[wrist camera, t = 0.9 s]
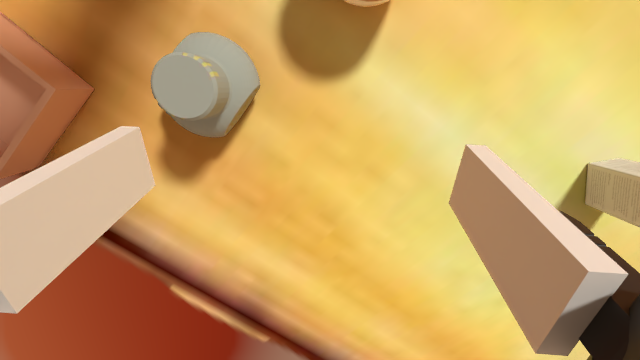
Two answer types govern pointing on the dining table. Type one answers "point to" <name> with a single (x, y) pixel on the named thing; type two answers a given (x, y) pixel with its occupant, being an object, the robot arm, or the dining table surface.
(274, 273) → the dining table surface
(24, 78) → the pink open box
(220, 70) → the air freshener
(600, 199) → the skincare box
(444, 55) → the dining table surface
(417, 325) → the dining table surface
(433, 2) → the dining table surface
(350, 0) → the lidded jar
